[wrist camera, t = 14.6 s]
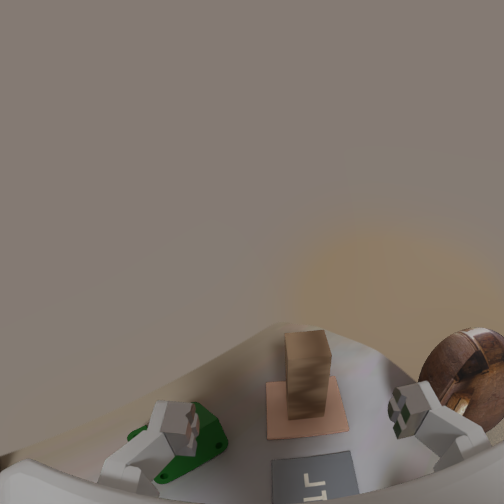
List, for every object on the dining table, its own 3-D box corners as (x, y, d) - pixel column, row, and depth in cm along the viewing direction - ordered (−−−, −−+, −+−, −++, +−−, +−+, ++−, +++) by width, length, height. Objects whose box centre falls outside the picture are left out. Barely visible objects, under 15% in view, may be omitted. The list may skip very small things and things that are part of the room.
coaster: (267, 439, 34) (267, 438, 34) (266, 383, 44) (266, 382, 44) (348, 431, 33) (349, 429, 33) (334, 377, 43) (335, 375, 43)
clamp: (204, 448, 37) (206, 397, 37) (226, 468, 32) (230, 415, 33) (127, 461, 30) (122, 406, 30) (142, 487, 25) (136, 430, 25)
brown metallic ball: (454, 372, 38) (481, 295, 33) (507, 424, 24) (553, 347, 19) (386, 407, 36) (410, 326, 30) (438, 479, 22) (494, 406, 17)
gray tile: (273, 528, 21) (273, 527, 21) (271, 460, 30) (271, 459, 30) (363, 516, 21) (363, 515, 21) (349, 451, 30) (350, 450, 30)
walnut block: (288, 420, 36) (287, 359, 32) (286, 394, 41) (284, 333, 36) (324, 416, 36) (331, 355, 32) (319, 391, 41) (323, 329, 36)
